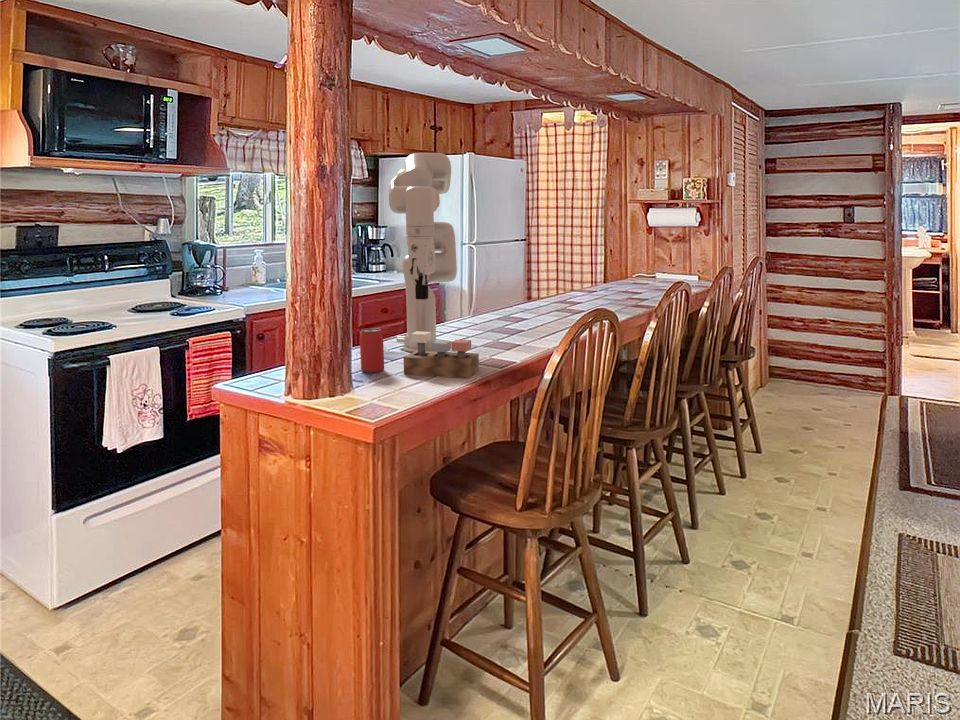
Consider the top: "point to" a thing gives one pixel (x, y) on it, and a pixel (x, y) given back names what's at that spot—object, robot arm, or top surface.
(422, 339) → the white key
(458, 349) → the brick-red key
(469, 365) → the walnut console
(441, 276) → the robot arm
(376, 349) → the beer can
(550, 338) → the top surface
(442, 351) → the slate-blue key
